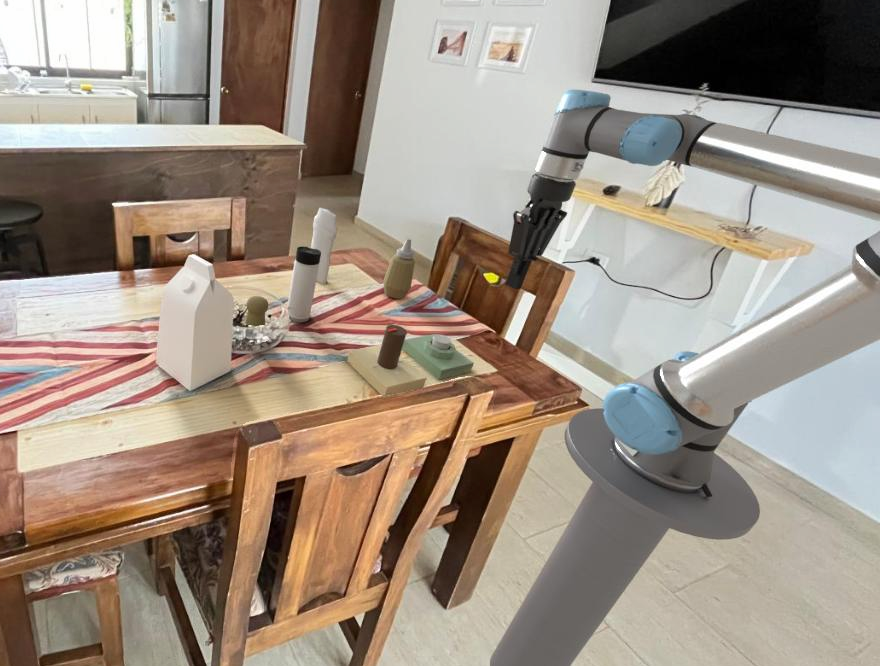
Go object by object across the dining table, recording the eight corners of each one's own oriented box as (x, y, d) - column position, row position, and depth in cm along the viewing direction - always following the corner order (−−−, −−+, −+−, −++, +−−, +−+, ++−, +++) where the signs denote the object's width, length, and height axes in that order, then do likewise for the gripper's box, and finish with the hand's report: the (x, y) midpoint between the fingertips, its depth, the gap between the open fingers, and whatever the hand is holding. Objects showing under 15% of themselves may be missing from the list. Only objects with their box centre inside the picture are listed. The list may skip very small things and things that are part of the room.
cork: (254, 347, 122) (259, 307, 117) (235, 336, 126) (240, 297, 121) (270, 338, 126) (276, 299, 121) (251, 328, 130) (256, 290, 125)
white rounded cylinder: (300, 270, 163) (311, 204, 153) (311, 269, 165) (322, 203, 155) (320, 285, 155) (333, 216, 145) (331, 283, 157) (345, 215, 147)
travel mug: (282, 319, 135) (293, 249, 126) (289, 308, 141) (300, 241, 132) (305, 325, 134) (318, 255, 124) (311, 314, 139) (324, 246, 130)
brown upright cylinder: (388, 356, 119) (398, 322, 115) (401, 367, 116) (411, 332, 111) (373, 359, 117) (382, 325, 113) (385, 370, 114) (395, 335, 110)
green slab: (470, 372, 122) (476, 356, 120) (438, 379, 118) (444, 363, 116) (432, 342, 132) (437, 327, 130) (401, 348, 128) (406, 333, 126)
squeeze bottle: (398, 287, 160) (412, 233, 151) (413, 300, 153) (429, 244, 145) (375, 289, 157) (389, 234, 149) (390, 302, 150) (405, 245, 142)
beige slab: (423, 388, 115) (427, 377, 113) (384, 398, 110) (387, 386, 109) (384, 353, 126) (386, 342, 124) (346, 360, 121) (349, 349, 120)
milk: (230, 370, 113) (242, 264, 101) (190, 391, 106) (197, 278, 94) (195, 345, 121) (203, 243, 109) (155, 363, 113) (158, 255, 101)
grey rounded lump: (452, 349, 123) (454, 342, 122) (439, 351, 121) (442, 344, 120) (440, 340, 126) (442, 333, 125) (427, 342, 124) (430, 335, 123)
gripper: (549, 183, 92) (505, 298, 103) (595, 181, 98) (549, 291, 108) (514, 171, 98) (476, 281, 109) (559, 170, 104) (519, 275, 114)
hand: (512, 286), depth 109 cm, fingers closed
